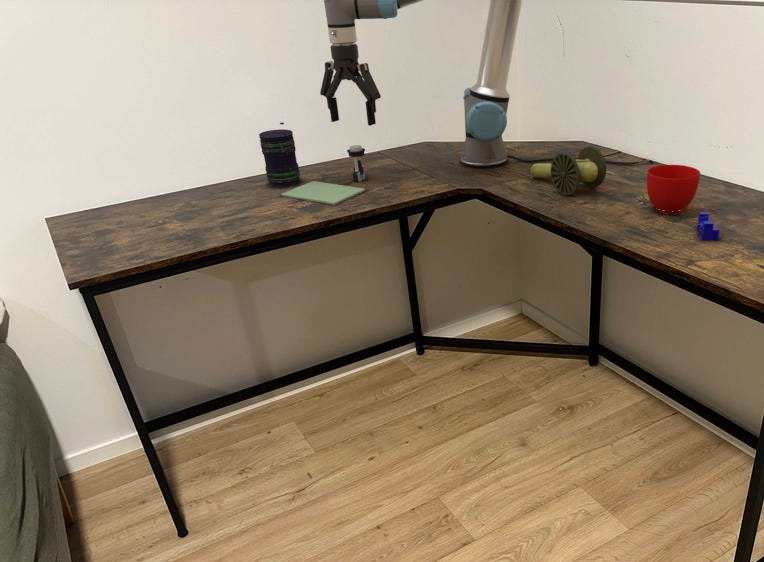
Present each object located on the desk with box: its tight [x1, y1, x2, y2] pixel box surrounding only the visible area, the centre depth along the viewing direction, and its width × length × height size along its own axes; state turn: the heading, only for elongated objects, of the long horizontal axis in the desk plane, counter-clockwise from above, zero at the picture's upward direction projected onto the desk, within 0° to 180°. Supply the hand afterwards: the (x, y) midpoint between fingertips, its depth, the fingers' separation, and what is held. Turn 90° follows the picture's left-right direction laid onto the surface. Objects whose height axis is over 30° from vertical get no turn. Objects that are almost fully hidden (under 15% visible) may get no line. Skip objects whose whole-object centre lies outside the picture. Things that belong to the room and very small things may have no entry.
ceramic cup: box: [646, 164, 701, 215], centre depth 173 cm, size 13×17×10 cm
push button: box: [346, 144, 366, 183], centre depth 205 cm, size 7×5×10 cm
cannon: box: [530, 145, 607, 196], centre depth 192 cm, size 25×12×11 cm, turn 37°
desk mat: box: [280, 180, 366, 206], centre depth 196 cm, size 20×14×1 cm
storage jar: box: [258, 122, 302, 189], centre depth 202 cm, size 10×10×18 cm
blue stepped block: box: [696, 211, 720, 241], centre depth 158 cm, size 8×4×4 cm, turn 173°
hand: (353, 122), depth 199 cm, fingers open, 13 cm apart
